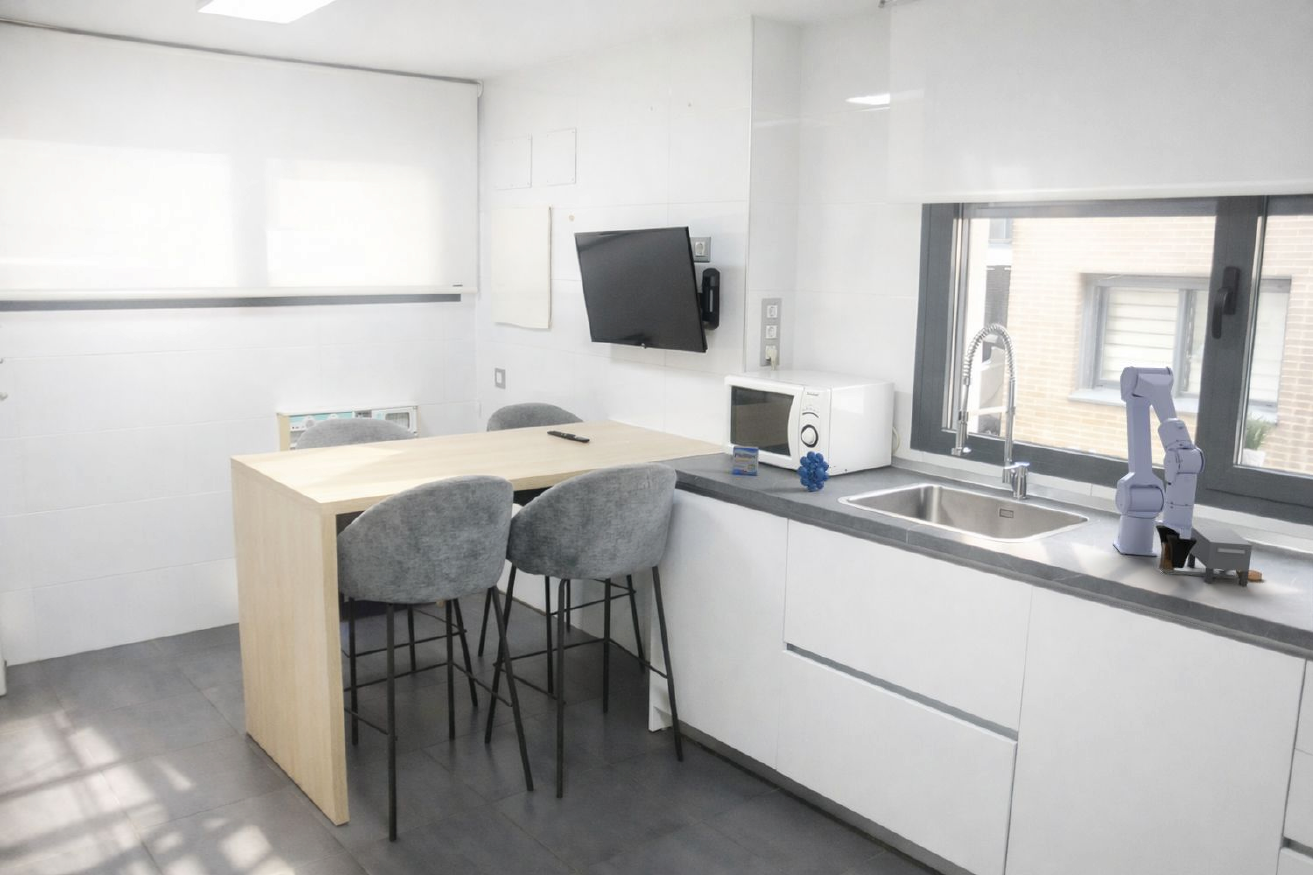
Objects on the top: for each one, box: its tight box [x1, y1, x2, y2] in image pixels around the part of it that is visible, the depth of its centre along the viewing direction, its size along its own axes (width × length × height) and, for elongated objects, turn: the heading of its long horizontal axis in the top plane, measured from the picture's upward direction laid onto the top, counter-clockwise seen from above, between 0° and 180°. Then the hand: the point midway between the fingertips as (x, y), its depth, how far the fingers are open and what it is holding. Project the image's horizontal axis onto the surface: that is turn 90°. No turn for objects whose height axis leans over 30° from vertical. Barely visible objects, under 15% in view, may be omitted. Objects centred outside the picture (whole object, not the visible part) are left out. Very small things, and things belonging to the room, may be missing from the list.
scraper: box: [1158, 542, 1239, 580], centre depth 226 cm, size 3×15×6 cm, turn 78°
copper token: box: [1235, 569, 1263, 582], centre depth 224 cm, size 5×5×2 cm
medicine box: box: [731, 445, 760, 477], centre depth 324 cm, size 8×4×9 cm, turn 80°
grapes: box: [797, 450, 830, 492], centre depth 299 cm, size 12×7×12 cm, turn 123°
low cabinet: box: [1186, 526, 1253, 587], centre depth 225 cm, size 15×8×9 cm, turn 168°
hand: (1172, 562), depth 227 cm, fingers open, 7 cm apart
